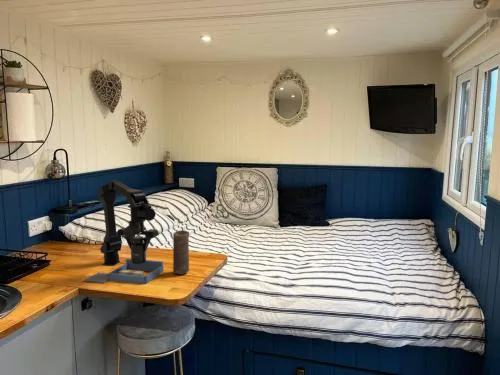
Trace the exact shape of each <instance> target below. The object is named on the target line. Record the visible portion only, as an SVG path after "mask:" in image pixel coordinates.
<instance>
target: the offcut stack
mask: <svg viewBox="0 0 500 375" xmlns="http://www.w3.org/2000/svg"><path fill="white" fill-rule="evenodd" d="M119 274H127V275H137V276H145V271H142V270H131V269H128V270H121V271H119Z"/></svg>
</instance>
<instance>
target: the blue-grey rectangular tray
mask: <svg viewBox="0 0 500 375" xmlns="http://www.w3.org/2000/svg"><path fill="white" fill-rule="evenodd" d="M125 261H126V262H125V263H123V265H121V266H119V267H117V268H115V269H114V270H112V271H110V272H108V279H109V281H112V282H113V281H114V282H124V283H133V284H144V285H146V284H148V283H150V282H151V281H152V280H154V279H155V278H157V277H158V276H160V275H161V274H162V273H164V261H163V260H162V261H161V260H149V259H146V262H144V263H142V264H133V263H132V262H131V258H125ZM121 270H134V271H144V272H149V273H148V274H146V275H144V276H137V275H127V274H119V271H121Z"/></svg>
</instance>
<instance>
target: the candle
mask: <svg viewBox="0 0 500 375" xmlns="http://www.w3.org/2000/svg"><path fill="white" fill-rule="evenodd" d="M189 235H190V234H189V231H188V230H177V231H175V232H173V238H172V241H173V242H172V244H173V246H172V247H173V249H172V250H173V251H172V252H173V254H172V255H173V258H172V259H173V260H172V261H173V262H172V265H173V266H172V267H173V268H172V270H173V271H172V273H173V274H177V275H184V274H186V273H188V272H190V268H189V267H190V252H189V250H190V248H189V246H190V242H189V240H190V239H189Z"/></svg>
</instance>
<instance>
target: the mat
mask: <svg viewBox="0 0 500 375" xmlns="http://www.w3.org/2000/svg"><path fill="white" fill-rule="evenodd" d="M108 273H109V272H108ZM108 273H106V272H105V273H104V272H97V273H95V274H93V275H91V276H89V277H87V278H86V279H84V280H83V281H84V282H85V283H86V282H87V283H97V284H105V283H107V282H109V281H110V280H109V279H108Z"/></svg>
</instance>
